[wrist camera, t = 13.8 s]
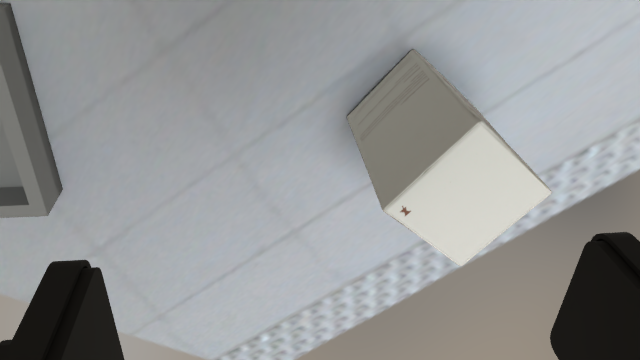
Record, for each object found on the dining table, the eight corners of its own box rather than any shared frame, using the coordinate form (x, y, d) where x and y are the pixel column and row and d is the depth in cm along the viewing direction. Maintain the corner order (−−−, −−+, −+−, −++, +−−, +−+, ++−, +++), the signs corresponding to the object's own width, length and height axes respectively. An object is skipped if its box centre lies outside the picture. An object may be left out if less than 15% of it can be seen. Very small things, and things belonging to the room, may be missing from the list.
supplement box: (406, 168, 43) (458, 272, 32) (343, 115, 39) (378, 211, 29) (476, 105, 40) (557, 195, 30) (414, 44, 37) (481, 119, 26)
